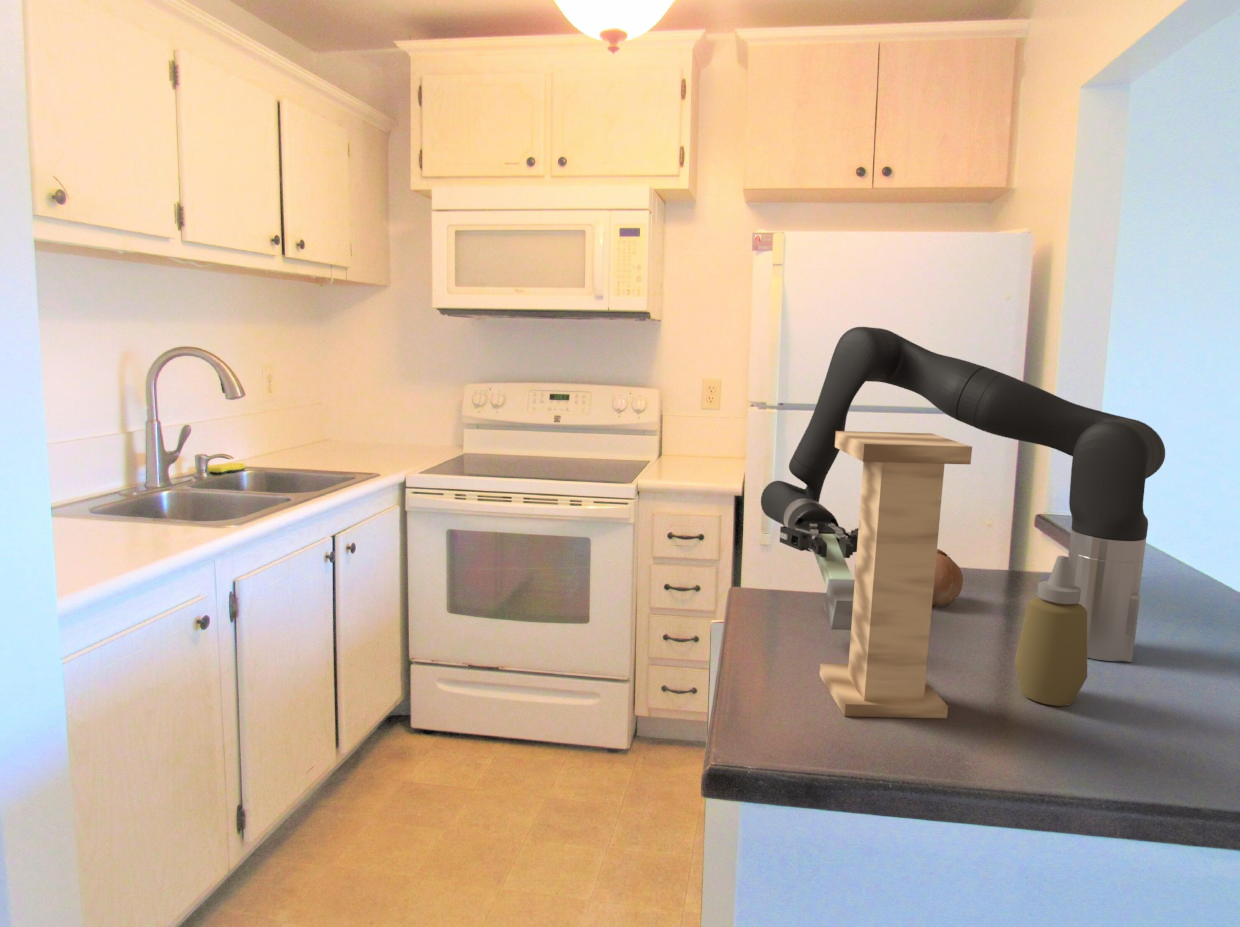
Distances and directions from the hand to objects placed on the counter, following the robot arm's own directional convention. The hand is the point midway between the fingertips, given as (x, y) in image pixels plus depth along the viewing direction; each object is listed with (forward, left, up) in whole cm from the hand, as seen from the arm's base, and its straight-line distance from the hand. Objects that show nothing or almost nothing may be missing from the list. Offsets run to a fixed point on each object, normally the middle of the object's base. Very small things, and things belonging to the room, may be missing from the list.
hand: (836, 551), depth 125 cm
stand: (-12, +20, -12) cm, 26 cm away
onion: (-11, -22, -12) cm, 27 cm away
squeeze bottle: (-30, +9, -12) cm, 33 cm away
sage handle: (0, 0, -6) cm, 6 cm away
